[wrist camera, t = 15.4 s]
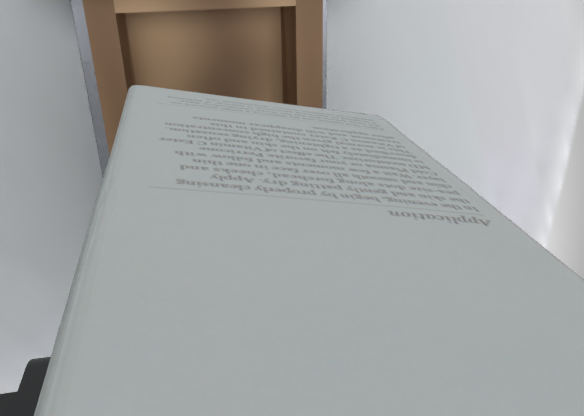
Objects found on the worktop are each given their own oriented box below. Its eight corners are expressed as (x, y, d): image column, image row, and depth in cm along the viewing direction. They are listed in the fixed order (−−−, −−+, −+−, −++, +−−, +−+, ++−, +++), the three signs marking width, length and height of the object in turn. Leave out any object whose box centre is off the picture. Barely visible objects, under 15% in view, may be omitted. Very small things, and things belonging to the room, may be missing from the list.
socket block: (132, 202, 31) (125, 244, 27) (95, -25, 26) (79, -18, 22) (302, 185, 33) (321, 223, 28) (299, -31, 28) (323, -26, 23)
